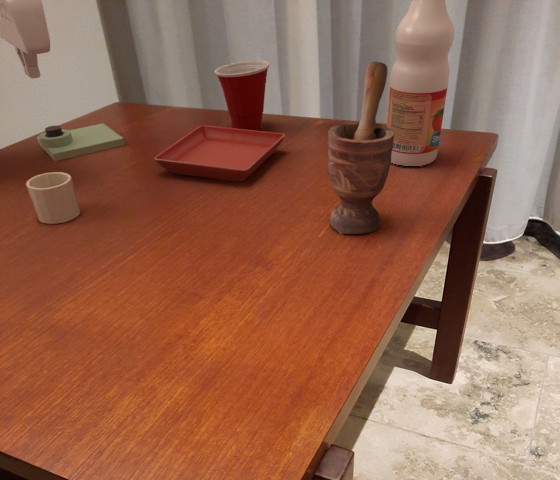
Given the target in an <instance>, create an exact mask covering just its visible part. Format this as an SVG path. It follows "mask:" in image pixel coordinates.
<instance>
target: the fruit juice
mask: <svg viewBox="0 0 560 480" xmlns="http://www.w3.org/2000/svg"><path fill="white" fill-rule="evenodd" d="M454 40H455V26H454V23H453V21H452V19H451V17H450V15H449V12H448V9H447V4H446V0H411V3H410V5H409V7H408V9H407V11H406V13H405V14H404V16H403V17H402V19H401V20H400V21H399V23H398V24H397V27H396V30H395V35H394V46H395V54H396V55H395V60H394V62H393V65H392V68H391V72H390V79H389V92H388V102H387V103H388V104H387V114H386V115H387V117H386V125H385V126H386V127H389V128H390V129H391V130H393V132H394V133H393V134H394V140H393V148H392V154H391V164H392V163H393V164H392V165H394V164H397V165H396V166H398V165H403V166H418V165H424V164H428V163H431V162H433V161H434V160H435V161H436V159H437V157H438V153H439V147H440V142H441V141H440V139H441V133H442V127H443V120H444V114H445V106H446V100H447V93H448V87H449V79H450V63H449V54H450V51H451V49H452V46H453V43H454ZM435 161H434V162H435ZM434 162H433V163H434ZM431 164H432V163H431ZM403 166H402V167H403Z"/></svg>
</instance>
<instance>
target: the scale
mask: <svg viewBox="0 0 560 480" xmlns="http://www.w3.org/2000/svg"><path fill="white" fill-rule="evenodd" d="M61 129H62V133H63V135H61V136H58V137H47V135H46V131H44V132H41V133H40V134H39V135H38V136H36V139H37V143H38V145H39V147H41V148H42V149H43V150H44V152H46V153H47V154H48V156H50V158H51V159H52V160H53V161H54V162H58V161H62V160H67V159H70V158H71V159H72V158H75V157H81V156H84V155H87V154H92V153H97V152H101V151H105V150H109V149H115V148H119V147H123V146H126V144H125V139H124V137H123V136H121V135H120V134H119V133H117V132H116V131H115V130H113V128H111V127H109V126H108V125H106V124H105V123H104V122H103V123H98V124H97V123H96V124H92V125H89V126H83V127H79V128H73V129H64V128H61Z"/></svg>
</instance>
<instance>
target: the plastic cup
mask: <svg viewBox="0 0 560 480" xmlns="http://www.w3.org/2000/svg"><path fill="white" fill-rule="evenodd" d="M269 67H270V62H269V61H266V60H258V59H255V60H254V59H253V60H242V61H236V62H232V63H228V64H225V65H222V66H219V67H217V68H216V69H214V75H215V76H216V77H217V79H218V82H219V83H220V86H221V88H222V92H223V96H224V100H225V104H226V107H227V111H228V115H229V116H230V121H231V126H232V128H235V129H245V130H254V131H261V129H262V126H263V116H264V115H263V114H264V109H265V107H264V106H265V97H266V96H265V95H266V84H267V77H268V70H269V69H270V68H269Z"/></svg>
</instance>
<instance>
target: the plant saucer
mask: <svg viewBox="0 0 560 480" xmlns="http://www.w3.org/2000/svg"><path fill="white" fill-rule="evenodd" d="M285 136H286V134H285V133H281V132H273V131H262V130H259V131H254V130H245V129H235V128H233V127H223V126H215V125H199V126H197V127H195V129H193V130H192V131H190V132H189V133H187V134H186V135H185V136H183V137H182V138H180V139H179V140H177V141H176V142H174V143H172V144H171V145H170V146H168V147H167V148H165V149H164V150H162V151H161V152H160V153H158V154H157V155H155V156H154V158H153V160H154V161H155V162H156V163H157V164H158V165H160V166H161V167H162V168H163V169H165V170H166V171H168V172H169V173H172V174H175V175H176V174H177V175H185V176H192V177H198V178H199V177H200V178H206V179H208V178H209V179H216V180H223V181H230V182H237V183H242V182H244V181H245V180H246V179H248V178H249V177H250V176H251V175H252V174H253V173H254V172H255V171H256V170H257V169H258V168H259V167H260V166H261V165H263V163H264V162H266V160H267V159H269V158H270V157H271V156H273V154H274V153H275V152H276V150H277V149H278V148H279V146H280V145H281V143H282V142H283V140H284V139H285Z"/></svg>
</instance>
